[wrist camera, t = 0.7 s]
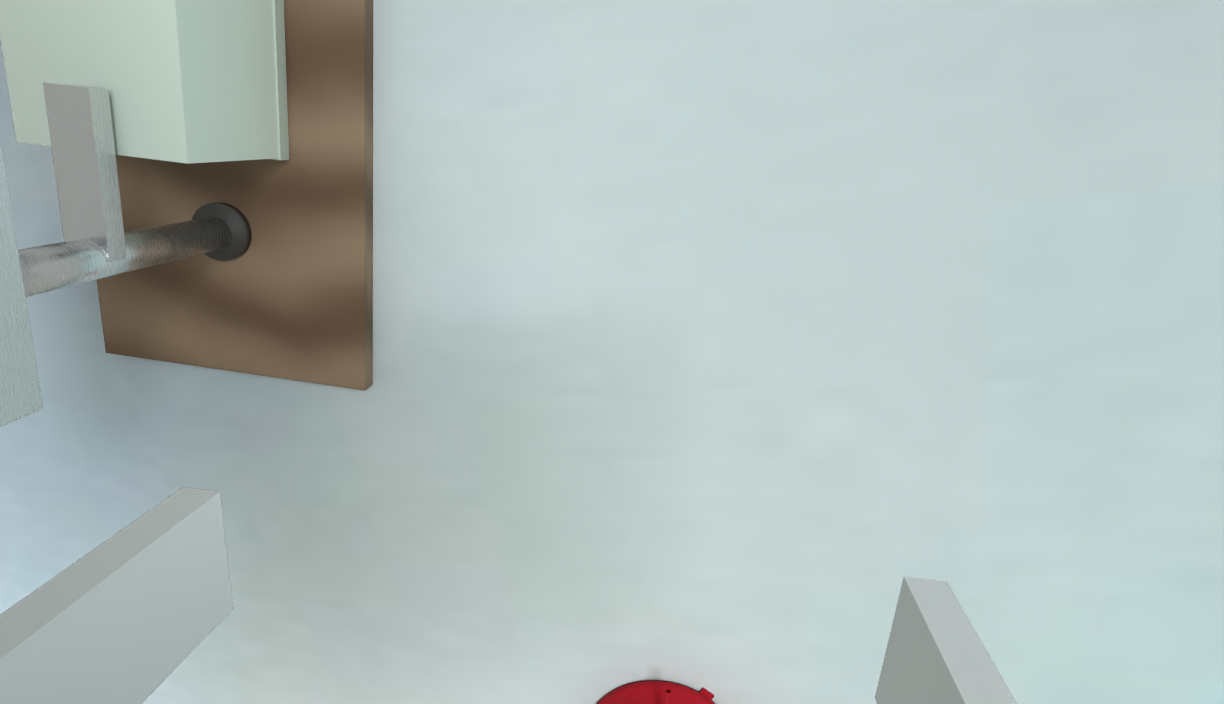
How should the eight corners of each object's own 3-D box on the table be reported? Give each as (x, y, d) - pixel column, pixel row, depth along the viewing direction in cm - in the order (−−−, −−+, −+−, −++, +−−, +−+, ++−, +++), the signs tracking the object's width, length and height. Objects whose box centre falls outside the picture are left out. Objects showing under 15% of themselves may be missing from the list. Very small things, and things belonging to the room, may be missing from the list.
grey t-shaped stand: (178, 92, 36) (-196, 62, 21) (233, 99, 36) (-105, 73, 21) (196, 315, 40) (-110, 428, 25) (246, 322, 40) (-32, 440, 25)
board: (66, -89, 36) (39, -99, 34) (373, -59, 35) (358, -68, 33) (118, 347, 43) (97, 355, 42) (372, 384, 42) (360, 393, 41)
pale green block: (129, -68, 35) (-27, -124, 27) (283, -52, 34) (168, -104, 27) (148, 142, 38) (14, 144, 31) (290, 159, 38) (190, 166, 30)
